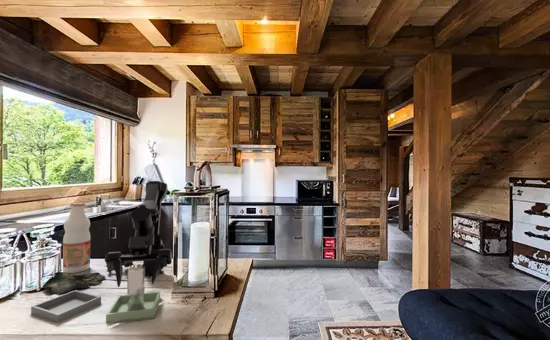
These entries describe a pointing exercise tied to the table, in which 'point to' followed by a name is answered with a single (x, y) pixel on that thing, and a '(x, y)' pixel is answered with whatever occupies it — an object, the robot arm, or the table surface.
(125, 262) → the brown arched figure
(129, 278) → the pebble canister
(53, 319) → the tray
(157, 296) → the tray
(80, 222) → the fruit juice
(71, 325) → the table surface
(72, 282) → the decorative rock
